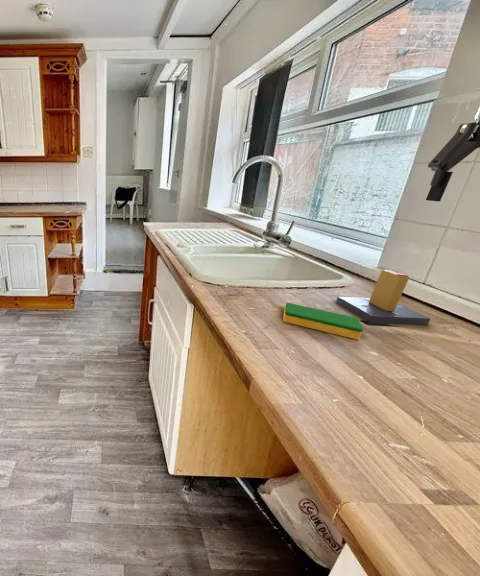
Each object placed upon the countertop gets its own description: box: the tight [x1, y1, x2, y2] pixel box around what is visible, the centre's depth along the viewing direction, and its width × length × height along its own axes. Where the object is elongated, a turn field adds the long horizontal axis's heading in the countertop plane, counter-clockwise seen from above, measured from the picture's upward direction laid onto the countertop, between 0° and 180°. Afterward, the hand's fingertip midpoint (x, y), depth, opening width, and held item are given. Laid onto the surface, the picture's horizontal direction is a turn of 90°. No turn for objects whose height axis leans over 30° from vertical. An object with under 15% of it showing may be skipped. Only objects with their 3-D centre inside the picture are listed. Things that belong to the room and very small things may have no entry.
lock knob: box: [369, 269, 410, 311], centre depth 72 cm, size 5×2×9 cm, turn 178°
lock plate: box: [335, 296, 431, 328], centre depth 74 cm, size 13×11×3 cm
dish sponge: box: [282, 302, 364, 340], centre depth 68 cm, size 7×14×2 cm, turn 58°
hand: (461, 202), depth 72 cm, fingers open, 13 cm apart
